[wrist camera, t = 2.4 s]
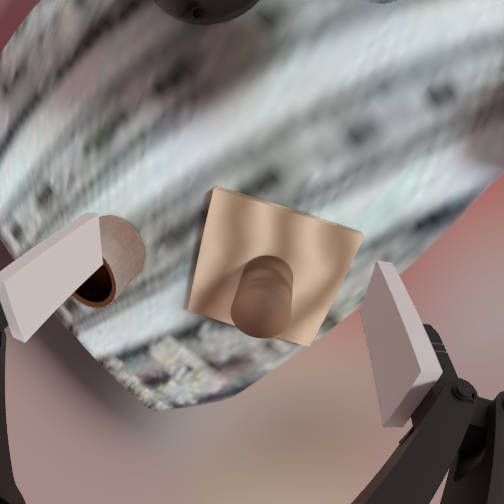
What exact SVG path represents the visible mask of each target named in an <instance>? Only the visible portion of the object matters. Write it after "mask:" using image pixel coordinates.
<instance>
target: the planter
mask: <svg viewBox="0 0 504 504" xmlns="http://www.w3.org/2000/svg"><path fill="white" fill-rule="evenodd" d="M99 227H100V238H101V249H102V258H103V265H102V266H100V267H99V268H98V269H97V270H96V271H95V272H94V273H93V274H92V275H91V276H90V277H89V278H88V279H87V280H86V281H85V282H84V283H83V284H82V285H81V286H80V287H78V288H77V289H76V290H75V291H74V292H73V293H72V294H71V295H72V296H73V297H74V298H75V299H77V300H78V301H79V302H81V303H83V304H85V305H87V306H89V307H93V308H104V307H107V306H109V305H110V304H111V303H112V302H113V301H114V300H115V299H116V298H117V297H118V295H119V294H120V293H121V292H122V291H123V289H124V288H125V287H126V286H127V285H128V284H129V283H130V282H131V280H132V279H133V278H134V277H135V276H136V275H137V274H138V273H139V271H140V270H141V268H142V266H143V264H144V260H145V249H144V245H143V242H142V239H141V237H140V235H139V234H138V232H137V231H136V229H135V228H134V227H133V226H132V225H131V224H130V223H128V222H127V221H126V220H124V219H122V218H120V217H117V216H113V215H106V216H102V217H99Z"/></svg>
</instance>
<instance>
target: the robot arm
mask: <svg viewBox="0 0 504 504" xmlns="http://www.w3.org/2000/svg"><path fill="white" fill-rule="evenodd" d="M154 1H155V2H156V4H157V5H158V6H159V7H160V8H161V9H162V10H163V11H165V12H166V13H168V14H169V15H171V16H173V17H174V18H176V19H178V20H181V21H183V22H187V23H192V24H213V23H219V22H223V21H226V20H229V19H232V18H234V17H237V16H239V15H241V14H242V13H244V12H246V11H247V10H249V9H250V8H251V7H253V6H254V5H255V4H256V3H257V2H258V1H259V0H154ZM366 1H369V2H373V3H378V4H386V3H390V2H393V1H397V0H366ZM102 265H103V258H102V249H101V238H100V227H99V215H98V214H92V213H85V214H84V215H82V216H81V217H79V218H77V219H76V220H74V221H73V222H71V223H69V224H68V225H66V226H65V227H63V228H62V229H60V230H59V231H57V232H56V233H54V234H52V235H51V236H49V237H48V238H46V239H45V240H44V241H42V242H41V243H39V244H38V245H36V246H35V247H33V248H32V249H30V250H29V251H28V252H26V253H25V254H23V255H22V256H20V257H19V258H18V259H16V260H15V261H14V262H12V263H11V264H9V265H8V266H7V267H5V268H4V269H3V270H1V271H0V504H26V503H25V501H24V499H23V496H22V495H21V493H20V491H19V490H18V488H17V486H16V484H15V481H14V477H13V472H12V466H11V459H10V452H9V445H8V435H7V424H6V409H5V351H6V333H5V331H4V329H5V328H6V327H7V326H8V325H9V328H10V330H11V333H12V335H13V337H14V338H16V339H19V340H20V341H22V342H24V343H25V342H26V341H27V340H28V339H29V338H30V337H31V336H32V335H33V334H34V333H35V332H36V330H37V329H38V328H39V327H40V326H41V325H42V324H43V323H44V322H45V321H46V320H47V319H48V318H49V317H50V315H51V314H53V313H54V312H55V311H56V309H57V308H58V307H59V306H60V305H61V304H62V303H63V302H64V301H65V300H66V299H67V298H68V297H69V296H70V295H71V294H72V293H73V292H74V291H75V290H76V289H77V288H78V287H80V286H81V285H82V284H83V283H84V282H85V281H86V280H87V279H88V278H89V277H90V276H91V275H92V274H93V273H94V272H95V271H96V270H97V269H98V268H99V267H100V266H102ZM360 315H361V319H362V323H363V328H364V332H365V336H366V341H367V345H368V350H369V354H370V359H371V364H372V369H373V374H374V379H375V384H376V390H377V395H378V401H379V407H380V413H381V419H382V425H383V427H403V426H404V424H405V423H406V422H407V421H408V420H409V418H410V417H411V419H412V423H413V427H412V428H411V429H410V430H409V431H408V433H407V434H406V435H405V436H404V437H403V438H402V439H401V441H400V442H399V443H400V444H399V446H398V447H397V448H396V450H395V451H394V453H393V454H392V455H391V456H390V458H389V459H388V460H387V462H386V463H385V464H384V466H383V467H382V468H381V469H380V471H379V472H378V473H377V474H376V476H375V477H374V478H373V479H372V480H371V482H370V483H369V484H368V485H367V486H366V488H365V489H364V490H363V491H362V492H361V493H360V494H359V496H358V497H357V498H356V499H355V500H354V501H353V502H352V503H351V504H429V503H430V501H431V500H432V498H433V496H434V495H435V493H436V491H437V489H438V488H439V486H440V484H441V482H442V481H443V479H444V477H445V475H446V473H447V471H448V469H449V473H448V477H447V481H446V484H445V488H444V492H443V495H442V499H441V502H440V504H504V391H503V392H500V393H499V394H498V395H497V396H496V398H495V399H494V400H493V401H492V400H488V399H484V398H480V397H478V395H477V392H476V390H475V389H474V387H473V386H472V385H471V384H470V383H469V382H467V381H466V380H463V379H461V378H458V376H457V374H456V372H455V369H454V367H453V365H452V363H451V360H450V358H449V356H448V353H446V349H445V347H444V345H442V344H443V343H442V340H441V338H440V336H439V334H438V333H437V332H436V331H435V330H434V329H433V328H432V326H431V325H428V324H422V322H421V320H420V318H419V316H418V314H417V311H416V309H415V307H414V305H413V303H412V301H411V299H410V297H409V295H408V293H407V291H406V289H405V287H404V285H403V283H402V281H401V279H400V277H399V275H398V273H397V271H396V269H395V267H394V266H393V264H392V263H388V262H383V261H377V262H376V265H375V268H374V271H373V274H372V277H371V280H370V283H369V286H368V289H367V292H366V294H365V297H364V300H363V303H362V306H361V308H360ZM449 467H450V468H449Z"/></svg>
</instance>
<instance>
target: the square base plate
mask: <svg viewBox="0 0 504 504" xmlns="http://www.w3.org/2000/svg"><path fill="white" fill-rule="evenodd" d="M363 237H364V236H363V234H362V232H360V231H357V230H354V229H351V228H348V227H345V226H342V225H339V224H336V223H334V222H331V221H328V220H325V219H322V218H319V217H316V216H313V215H310V214H307V213H303V212H300V211H297V210H294V209H291V208H288V207H285V206H282V205H278V204H275V203H272V202H269V201H266V200H262V199H259V198H256V197H252V196H249V195H246V194H242V193H239V192H236V191H232V190H229V189H225V188H222V187H219V186H216V187H215V188H214V189H213V194H212V198H211V202H210V206H209V211H208V215H207V220H206V224H205V229H204V233H203V238H202V242H201V247H200V252H199V256H198V261H197V266H196V271H195V276H194V281H193V286H192V291H191V296H190V301H189V306H188V311H191V312H194V313H197V314H200V315H203V316H206V317H209V318H212V319H215V320H219V321H222V322H225V323H228V324H231V325H235V326H236V327H237V328H238V329H239V330H240V331H242V332H243V333H245V334H247V335H249V336H252V337H256V338H271V337H275V338H279V339H283V340H286V341H290V342H294V343H297V344H301V345H305V346H310V345H311V343H312V341H313V339H314V337H315V335H316V334H317V332H318V330H319V328H320V326H321V324H322V322H323V320H324V318H325V316H326V314H327V313H328V311H329V309H330V307H331V305H332V303H333V301H334V299H335V297H336V295H337V293H338V291H339V289H340V287H341V285H342V282H343V280H344V278H345V276H346V274H347V272H348V270H349V268H350V266H351V264H352V261H353V259H354V257H355V255H356V253H357V251H358V248H359V246H360V244H361V242H362V239H363Z"/></svg>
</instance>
